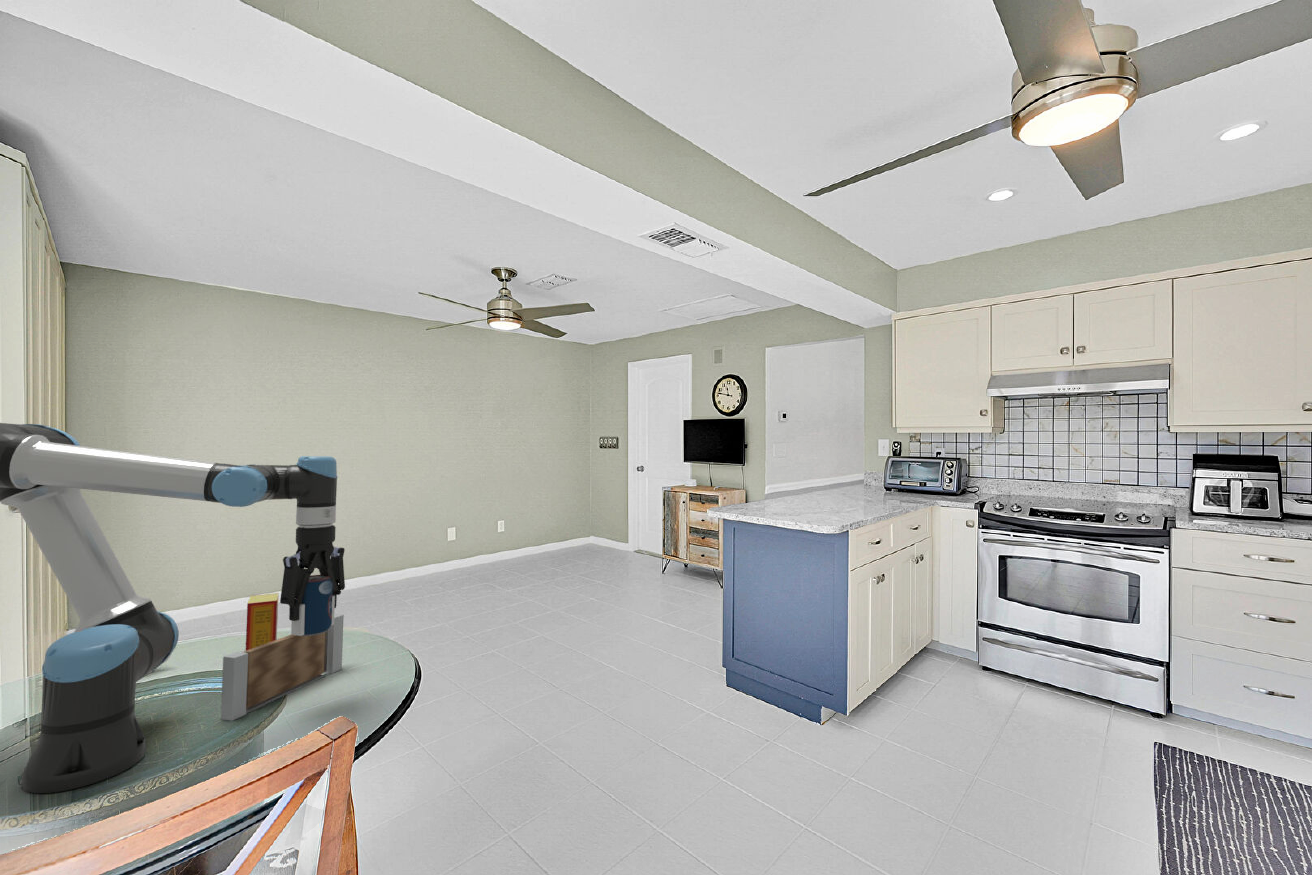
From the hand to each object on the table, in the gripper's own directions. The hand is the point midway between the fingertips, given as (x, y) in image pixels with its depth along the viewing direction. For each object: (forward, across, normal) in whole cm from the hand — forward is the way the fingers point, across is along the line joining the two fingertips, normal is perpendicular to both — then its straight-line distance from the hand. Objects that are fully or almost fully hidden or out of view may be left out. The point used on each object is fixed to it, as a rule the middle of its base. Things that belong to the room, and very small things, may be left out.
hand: (313, 629), depth 122 cm
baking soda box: (+17, +20, +40) cm, 48 cm away
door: (+16, +5, +13) cm, 22 cm away
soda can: (+1, 0, 0) cm, 1 cm away
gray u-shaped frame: (+17, +5, +12) cm, 22 cm away
